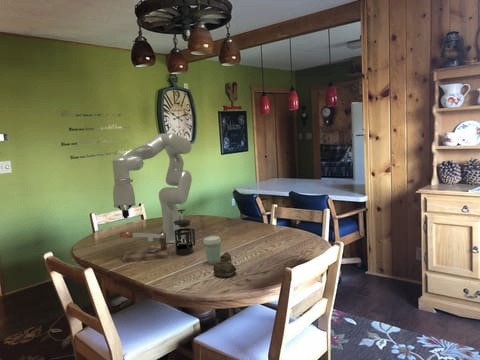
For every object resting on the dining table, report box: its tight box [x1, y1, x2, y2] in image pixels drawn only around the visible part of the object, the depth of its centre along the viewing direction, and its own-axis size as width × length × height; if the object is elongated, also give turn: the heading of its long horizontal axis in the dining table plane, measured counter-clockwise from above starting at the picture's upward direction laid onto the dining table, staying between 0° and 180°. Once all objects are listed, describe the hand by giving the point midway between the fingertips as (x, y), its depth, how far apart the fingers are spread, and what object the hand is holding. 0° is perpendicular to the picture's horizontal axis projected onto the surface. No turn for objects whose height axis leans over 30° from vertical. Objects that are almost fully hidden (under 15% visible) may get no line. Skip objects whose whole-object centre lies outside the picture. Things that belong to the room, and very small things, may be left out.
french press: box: [173, 209, 196, 256], centre depth 197 cm, size 12×9×23 cm
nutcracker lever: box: [119, 231, 165, 242], centre depth 193 cm, size 22×3×4 cm, turn 100°
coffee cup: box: [202, 235, 222, 265], centre depth 180 cm, size 8×8×12 cm
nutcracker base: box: [122, 232, 169, 263], centre depth 194 cm, size 22×12×11 cm, turn 99°
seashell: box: [212, 251, 237, 278], centre depth 163 cm, size 11×12×10 cm
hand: (126, 217), depth 191 cm, fingers closed
